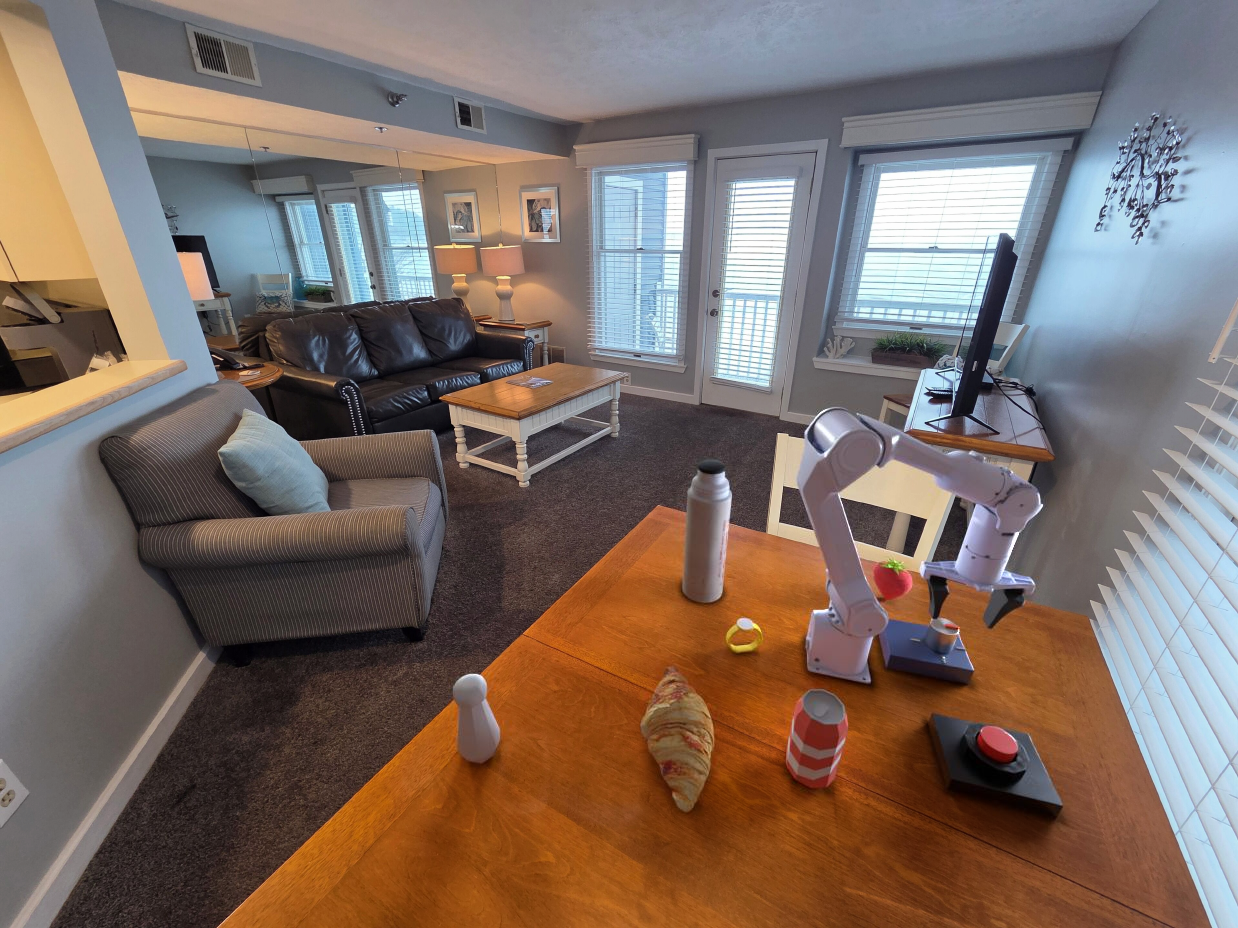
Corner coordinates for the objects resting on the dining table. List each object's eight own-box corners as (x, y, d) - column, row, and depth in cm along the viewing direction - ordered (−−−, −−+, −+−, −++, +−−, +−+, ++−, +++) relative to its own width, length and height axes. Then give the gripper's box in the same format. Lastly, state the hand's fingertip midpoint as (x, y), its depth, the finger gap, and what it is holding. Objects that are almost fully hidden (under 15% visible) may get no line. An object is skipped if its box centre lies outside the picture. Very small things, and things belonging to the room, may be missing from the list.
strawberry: (888, 615, 94) (900, 571, 90) (859, 590, 100) (870, 548, 96) (913, 608, 95) (926, 565, 91) (884, 584, 102) (895, 543, 98)
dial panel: (886, 667, 83) (890, 653, 81) (877, 629, 90) (881, 616, 89) (969, 684, 80) (975, 669, 78) (953, 643, 87) (958, 629, 86)
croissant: (707, 834, 63) (742, 800, 60) (637, 813, 61) (670, 777, 58) (685, 691, 82) (711, 660, 79) (631, 672, 80) (655, 639, 77)
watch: (756, 642, 88) (760, 616, 85) (762, 654, 86) (766, 627, 83) (723, 645, 88) (726, 618, 85) (728, 657, 85) (731, 630, 82)
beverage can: (775, 764, 68) (787, 702, 63) (803, 738, 71) (816, 677, 66) (815, 801, 63) (831, 737, 58) (842, 771, 67) (860, 708, 62)
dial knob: (927, 650, 82) (934, 630, 80) (921, 633, 85) (928, 613, 84) (955, 655, 81) (962, 635, 79) (948, 638, 84) (955, 618, 83)
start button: (982, 758, 65) (987, 749, 64) (972, 731, 68) (976, 722, 67) (1018, 766, 64) (1023, 757, 63) (1006, 738, 67) (1010, 729, 66)
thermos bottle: (728, 585, 102) (741, 461, 90) (713, 608, 96) (725, 478, 84) (692, 572, 106) (700, 451, 94) (675, 593, 100) (681, 467, 88)
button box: (947, 789, 65) (955, 769, 63) (927, 723, 73) (934, 704, 72) (1057, 816, 62) (1069, 796, 60) (1023, 744, 70) (1033, 724, 69)
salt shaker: (464, 777, 67) (449, 709, 61) (455, 741, 71) (441, 676, 66) (507, 757, 69) (496, 690, 64) (496, 724, 74) (485, 659, 68)
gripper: (938, 555, 72) (915, 627, 78) (1057, 572, 69) (1023, 647, 74) (925, 530, 78) (905, 598, 84) (1034, 544, 75) (1005, 615, 80)
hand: (959, 619), depth 80 cm, fingers open, 7 cm apart
